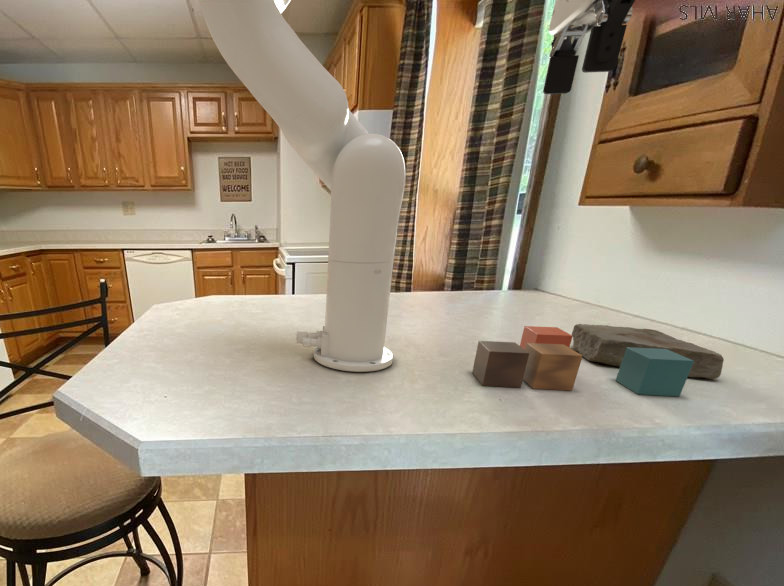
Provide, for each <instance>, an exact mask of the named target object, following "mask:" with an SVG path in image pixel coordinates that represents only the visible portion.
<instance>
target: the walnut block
mask: <svg viewBox="0 0 784 586" xmlns="http://www.w3.org/2000/svg"><path fill="white" fill-rule="evenodd" d="M528 357H529V353H528V352H527V351H526V350H524V349H523V348H522V347H520V344H518V343H516V342H514V341H490V340H489V341H488V340H478V342H477V346H476V352H475V357H474V363H473V366H472V367H473V368H472V371H471V373H472V374H473V376H474V377H475V378H476V379H477V381H478V382H479V383H480V385H481V386H483V387H503V388H517V389H521V388H522V384H523V381H524V380H523V377H524V373H525V369H526V365H527V361H528Z"/></svg>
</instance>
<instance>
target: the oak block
mask: <svg viewBox="0 0 784 586" xmlns="http://www.w3.org/2000/svg"><path fill="white" fill-rule="evenodd" d="M525 350H526V351H527V352H528V353H529V357H528V361H527V365H526V369H525V373H524V377H523V381H524V382H525V383H526V384H527V385H528V386H530V388H532V389H537V390H551V391H552V390H554V391H555V390H556V391H573V390H574V386H575V382H576V380H577V376H578V373H579V369H580V366H581V364H582V360H583V356H582V355H581V354H579V352H578V351H576V350H573V349H572V347H567V346H566V345H563V344H540V343H526V347H525Z"/></svg>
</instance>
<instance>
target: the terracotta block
mask: <svg viewBox="0 0 784 586" xmlns="http://www.w3.org/2000/svg"><path fill="white" fill-rule="evenodd" d="M572 340H573V336H572V334H570V333H568V332H567V331H564V330H563V329H561V328H559V327H558V326H557V327H556V326H533V325H524V328H523V331H522V335H521V340H520V343H519V346H520V347H522V348H523V349H524V350H525V347H526V343H540V344H563V345H566V346H567V347H569V348H571V344H572Z"/></svg>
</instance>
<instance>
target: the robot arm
mask: <svg viewBox="0 0 784 586" xmlns="http://www.w3.org/2000/svg"><path fill="white" fill-rule="evenodd" d="M291 1H292V0H199V5H200V9H201V13H202V15H203V18H204V22H205V24H206V27H207V29H208V32H209V34H210V37H211V38H212V40H213V43H214V44H215V46H216V48H217V49H218V52H219V53H220V55H221V56H222V58H223V59H224V61H225V62H226V64H227V66H229V68H230V69H231V70H232V72H233V73H234V75H235V76H236V77H237V78H238V80H239V81H240V82H241V83H242V84H243V85H244V86H245V88H246V89H247V90H248V91H249V93H250V94H251V95H252V96H253V97H254V99H255V100H256V101H257V102H258V104H259V105H260V106H261V107H262V108H263V109H264V110H265V111H266V113H267V114H268V115H269V116H270V117H271V118H272V120H273V121H274V122H275V123H276V125H277V126H278V127H279V129H280V130H281V132H282V134H283V137H284V138H285V140H286V141H287V143H289V145H290V146H291V148H292V149H293V150H294V152H295V153H296V154H297V155H298V156H299V157H300V158H301V160H302V161H303V162H304V163H305V164H306V165H307V166H308V168H309V169H311V171H312V172H313V173H314V174H315V175H316V177H318V178H319V179H320V181H321V182H322V183H323V184H324V185H325V186H326V187H327V189H328V190H329V191H330V216H329V232H328V233H329V235H328V253H327V254H328V255H327V259H328V260H327V276H326V277H327V278H326V295H325V297H326V298H325V316H324V325H323V326H322V330H316V332H308V331H296V344H302V347H308V348H309V347H315V348H314V349H313V358H314V360H315V362H317V363H318V364H320V365H322V366H324V367H327V368H330V369H333V370H338V371H344V372H356V373H363V372H364V373H367V372H375V371H376V372H377V371H381V370H384V369H386V368H389V367H390V366H391V365H393V363H394V353H393V352H392V351H391V350H390V349H388V348H386V347H385V342H386V333H387V323H388V315H389V307H390V297H391V288H392V280H393V269H394V262H395V250H396V242H397V235H398V228H399V220H400V216H401V215H400V214H401V211H402V203H403V200H404V199H403V198H404V192H405V185H406V163H405V159H404V156H403V154H402V151H401V149H400V147H399V146H398V145H397V143H396V142H395V141H394V140H393V139H391V138H389V137H388V136H386V135H384V134H380V133H369V132H368V130H367V129H366V128H365V127H364V126H363V124H362V123H361V122H360V121H359V119H358V118H357V117H356V116H355V115H354V113H352V111H351V110H350V109H349V100H348V97H347V93H346V91H345V89H344V88H343V86H342V85H341V83H340V82H339V81H338V80H337V79H336V78H335V77H334V76H333V75H332V74H331V73H330V72H329V71H328V70H327V69H326V67H324V66H323V64H322V63H321V62H320V61H319V60H318V59H317V57H316V56H315V55H314V54H313V53H312V51H310V49H309V48H308V47H307V46H306V44H305V43H303V41H302V40H301V39H300V38H299V36H298V34H296V33H297V32H295V30H294V29H293V28H292V27H291V26H290V24H289V23H288V21H286V19H285V18H284V16H283V12H284V11H285V10H286V9H287V7H288V5H289V4H290V2H291ZM635 1H636V0H555V2H554V6H553V10H552V14H551V18H550V19H551V20H550V23H549V28H548V31H549V34H550V35H552V36H553V39H552V41H551V43H550V45H551V50H550V52H549V61H548V65H547V70H546V75H545V79H544V84H543V90H542V94H544V95H564V94H568V93H570V92H571V90H572V87H573V83H574V78H575V75H576V70H577V65H578V61H579V57H580V55H578V54H577V52H578V50H579V48H580V46H581V44H582V42H583V40H584V37H585V36H586V34H588V33H590V34H589V38H588V42H587V47H586V50H585V55H584V58H583V63H582V67H581V71H582V73H584V74H585V73H586V74H587V73H608V72H609V73H610V72H612V71H613V70H615V69H616V67H617V64H618V61H619V57H620V53H621V49H622V44H623V41H624V37H625V34H626V30H627V26H628V25H627V24H628V23H629V21H630V20H631V18H632V16H633V13H634V11H633V5H634V3H635ZM571 37H574V39H573V40H571ZM576 54H577V55H576Z"/></svg>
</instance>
